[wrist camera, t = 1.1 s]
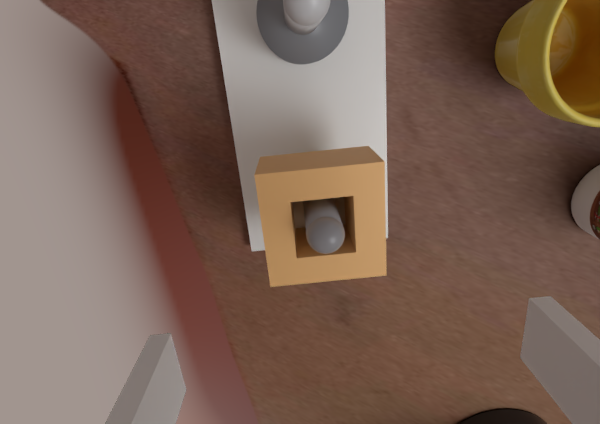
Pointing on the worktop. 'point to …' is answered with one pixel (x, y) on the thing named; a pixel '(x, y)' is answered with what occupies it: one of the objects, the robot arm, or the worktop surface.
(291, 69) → the assembly board
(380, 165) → the collar
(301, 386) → the worktop surface
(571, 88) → the plant pot
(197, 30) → the worktop surface
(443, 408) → the worktop surface
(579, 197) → the milk bottle
